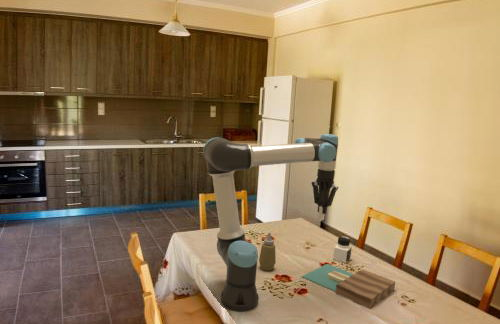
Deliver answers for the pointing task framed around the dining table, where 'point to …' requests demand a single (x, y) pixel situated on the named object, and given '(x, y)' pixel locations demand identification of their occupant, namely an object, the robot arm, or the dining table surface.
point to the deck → (365, 288)
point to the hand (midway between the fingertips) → (321, 219)
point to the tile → (337, 276)
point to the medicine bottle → (342, 250)
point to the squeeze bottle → (267, 254)
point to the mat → (325, 276)
